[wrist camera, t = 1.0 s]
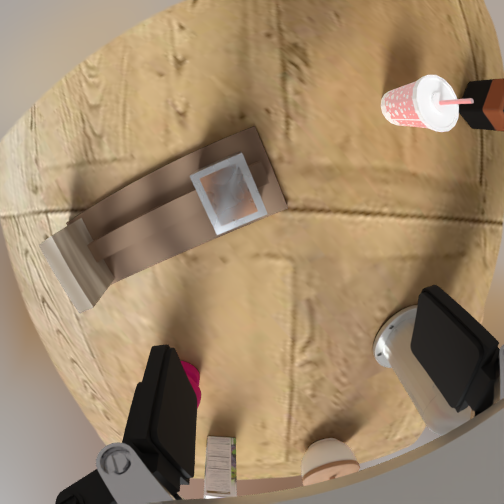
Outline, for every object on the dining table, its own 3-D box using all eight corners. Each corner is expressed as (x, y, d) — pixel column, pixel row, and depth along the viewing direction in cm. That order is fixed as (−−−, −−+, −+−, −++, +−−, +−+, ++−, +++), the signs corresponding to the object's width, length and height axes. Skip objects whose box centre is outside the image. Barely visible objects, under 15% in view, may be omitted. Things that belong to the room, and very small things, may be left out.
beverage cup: (422, 111, 30) (498, 109, 16) (398, 140, 31) (474, 148, 18) (392, 76, 28) (465, 56, 15) (366, 105, 29) (438, 92, 16)
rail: (254, 126, 30) (260, 120, 22) (286, 206, 33) (302, 225, 26) (69, 221, 32) (35, 241, 24) (104, 285, 35) (80, 317, 28)
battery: (455, 110, 29) (504, 110, 20) (468, 80, 27) (514, 76, 18) (471, 129, 30) (519, 135, 21) (483, 99, 28) (528, 100, 19)
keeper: (240, 151, 30) (242, 152, 24) (261, 201, 32) (267, 214, 26) (197, 169, 30) (189, 175, 24) (219, 218, 32) (217, 235, 27)
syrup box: (232, 449, 51) (234, 505, 38) (205, 447, 51) (203, 504, 37) (235, 437, 49) (238, 497, 36) (206, 434, 49) (204, 495, 35)
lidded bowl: (347, 425, 51) (362, 465, 41) (350, 447, 55) (362, 482, 45) (291, 442, 51) (299, 483, 41) (301, 462, 56) (308, 498, 46)
